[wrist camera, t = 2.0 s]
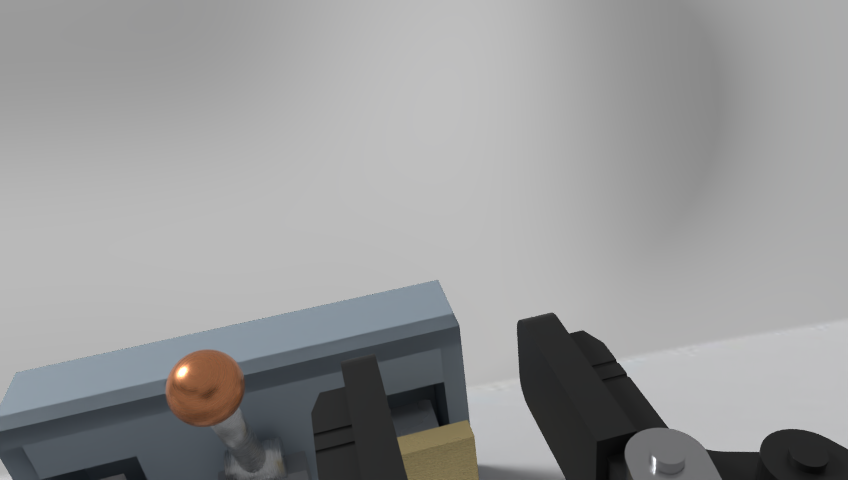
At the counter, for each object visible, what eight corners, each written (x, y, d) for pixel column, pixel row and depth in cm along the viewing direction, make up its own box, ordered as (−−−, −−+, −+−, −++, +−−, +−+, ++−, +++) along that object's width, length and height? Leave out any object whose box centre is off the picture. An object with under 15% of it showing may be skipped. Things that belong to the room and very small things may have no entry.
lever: (234, 507, 29) (155, 418, 21) (229, 449, 31) (153, 345, 22) (293, 491, 30) (238, 398, 21) (285, 436, 31) (232, 328, 23)
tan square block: (381, 537, 29) (365, 464, 27) (368, 468, 33) (352, 398, 31) (481, 510, 30) (474, 436, 28) (458, 445, 33) (449, 375, 31)
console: (93, 645, 33) (-25, 456, 26) (112, 552, 37) (15, 372, 31) (486, 536, 35) (466, 341, 29) (460, 462, 40) (438, 279, 33)
